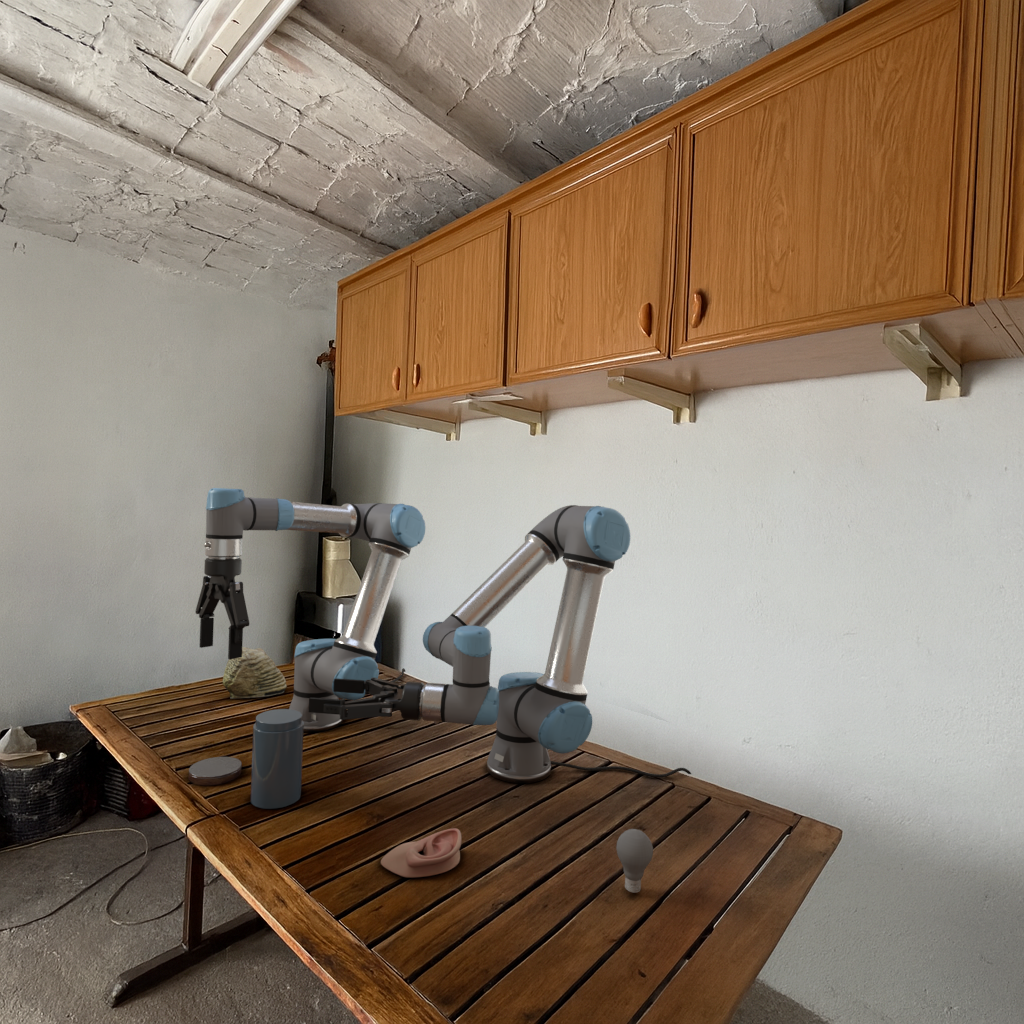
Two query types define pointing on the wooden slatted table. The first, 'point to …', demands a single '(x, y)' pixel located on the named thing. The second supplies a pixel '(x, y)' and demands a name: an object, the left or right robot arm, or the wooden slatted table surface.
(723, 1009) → the wooden slatted table surface
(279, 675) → the fossil
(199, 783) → the lid
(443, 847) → the anatomical model
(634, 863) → the light bulb
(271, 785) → the jar
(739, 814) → the wooden slatted table surface
